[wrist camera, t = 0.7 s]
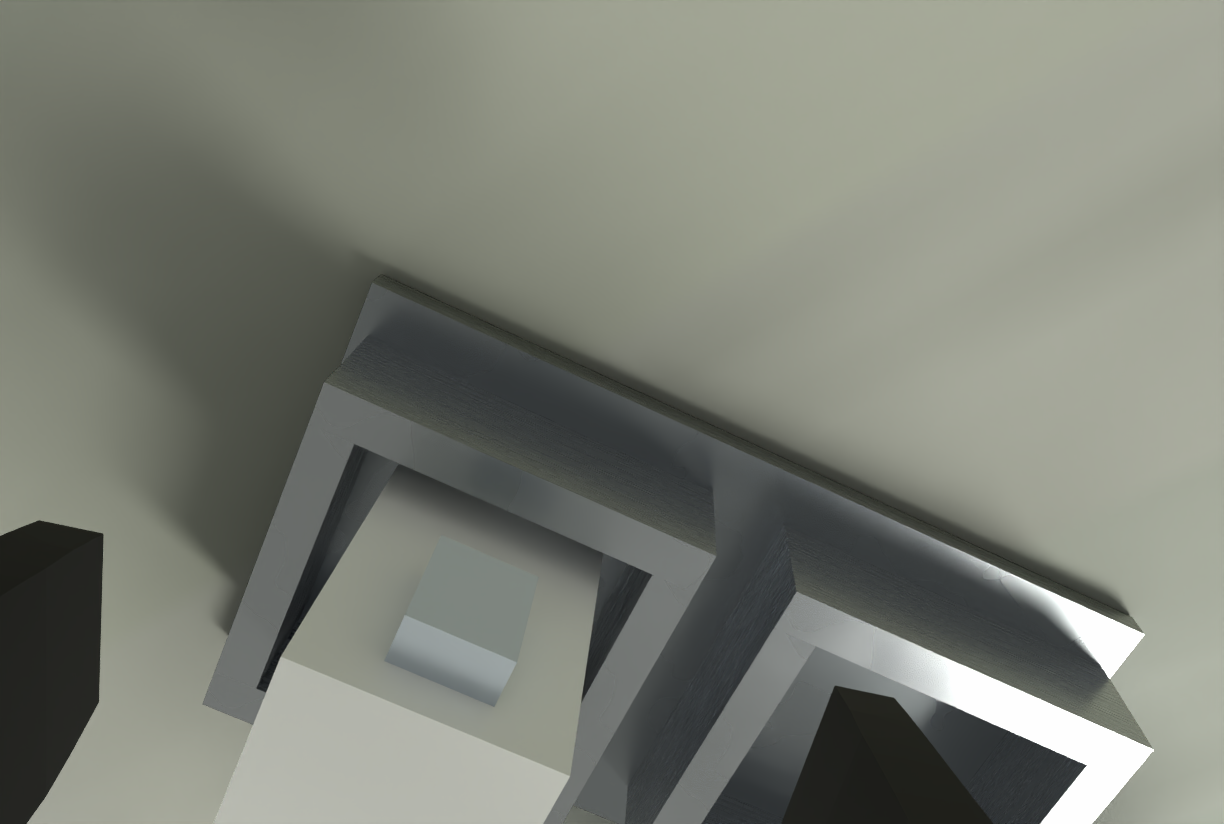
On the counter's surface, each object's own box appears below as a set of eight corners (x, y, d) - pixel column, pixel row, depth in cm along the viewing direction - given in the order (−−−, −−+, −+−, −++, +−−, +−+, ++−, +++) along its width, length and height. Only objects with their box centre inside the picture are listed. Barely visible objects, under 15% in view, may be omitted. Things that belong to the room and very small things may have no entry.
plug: (526, 679, 22) (457, 974, 15) (344, 603, 21) (193, 872, 15) (625, 490, 20) (595, 730, 13) (429, 403, 19) (300, 607, 13)
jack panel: (897, 919, 24) (925, 1039, 21) (238, 646, 22) (174, 738, 20) (1132, 617, 21) (1200, 713, 18) (381, 274, 19) (329, 321, 16)
